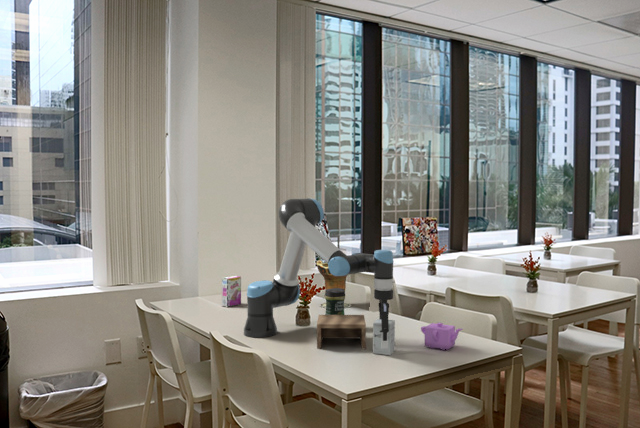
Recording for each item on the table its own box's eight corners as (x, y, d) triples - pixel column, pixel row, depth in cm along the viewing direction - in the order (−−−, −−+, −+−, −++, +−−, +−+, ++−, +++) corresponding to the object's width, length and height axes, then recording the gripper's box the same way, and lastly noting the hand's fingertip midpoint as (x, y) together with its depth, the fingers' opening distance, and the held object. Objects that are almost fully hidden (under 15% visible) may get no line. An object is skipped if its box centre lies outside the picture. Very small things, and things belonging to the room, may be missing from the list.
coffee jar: (330, 329, 255) (330, 290, 255) (322, 326, 262) (322, 287, 261) (348, 327, 260) (348, 288, 259) (339, 323, 267) (339, 286, 266)
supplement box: (372, 353, 216) (372, 322, 216) (377, 348, 223) (377, 318, 223) (390, 355, 213) (390, 323, 213) (395, 350, 220) (395, 319, 220)
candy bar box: (227, 307, 307) (227, 278, 307) (221, 306, 310) (221, 277, 310) (241, 304, 316) (241, 276, 316) (235, 303, 319) (235, 275, 319)
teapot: (467, 347, 225) (467, 322, 225) (457, 355, 214) (457, 329, 213) (426, 341, 235) (426, 317, 235) (414, 348, 223) (414, 324, 223)
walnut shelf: (317, 348, 224) (316, 324, 224) (318, 337, 242) (318, 314, 242) (365, 348, 224) (365, 324, 223) (364, 337, 242) (363, 314, 241)
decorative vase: (309, 307, 304) (310, 257, 304) (325, 302, 325) (326, 255, 325) (344, 310, 296) (345, 259, 296) (358, 304, 317) (359, 256, 317)
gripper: (395, 293, 207) (395, 352, 207) (390, 284, 228) (390, 338, 229) (375, 293, 207) (376, 352, 208) (372, 284, 228) (372, 338, 229)
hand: (383, 345), depth 218 cm, fingers closed on supplement box, 9 cm apart
